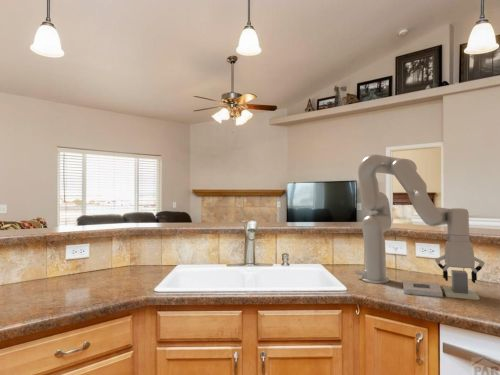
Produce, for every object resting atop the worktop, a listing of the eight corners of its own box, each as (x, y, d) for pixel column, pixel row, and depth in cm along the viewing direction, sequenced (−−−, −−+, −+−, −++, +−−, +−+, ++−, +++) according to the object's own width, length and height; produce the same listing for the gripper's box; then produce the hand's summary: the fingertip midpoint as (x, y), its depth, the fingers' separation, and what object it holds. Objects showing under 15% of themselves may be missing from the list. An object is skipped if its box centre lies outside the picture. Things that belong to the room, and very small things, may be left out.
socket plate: (403, 293, 139) (403, 288, 139) (403, 284, 152) (403, 280, 152) (442, 297, 133) (442, 292, 133) (438, 287, 146) (438, 283, 146)
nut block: (453, 292, 136) (452, 272, 136) (451, 289, 140) (451, 270, 140) (468, 293, 134) (467, 273, 134) (466, 290, 138) (465, 270, 138)
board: (446, 296, 134) (446, 294, 134) (442, 288, 145) (442, 286, 145) (479, 299, 129) (479, 297, 129) (473, 291, 140) (473, 288, 140)
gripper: (435, 239, 137) (436, 281, 137) (486, 240, 130) (487, 285, 130) (433, 236, 144) (434, 277, 144) (481, 238, 137) (483, 280, 137)
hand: (459, 281), depth 137 cm, fingers open, 9 cm apart
